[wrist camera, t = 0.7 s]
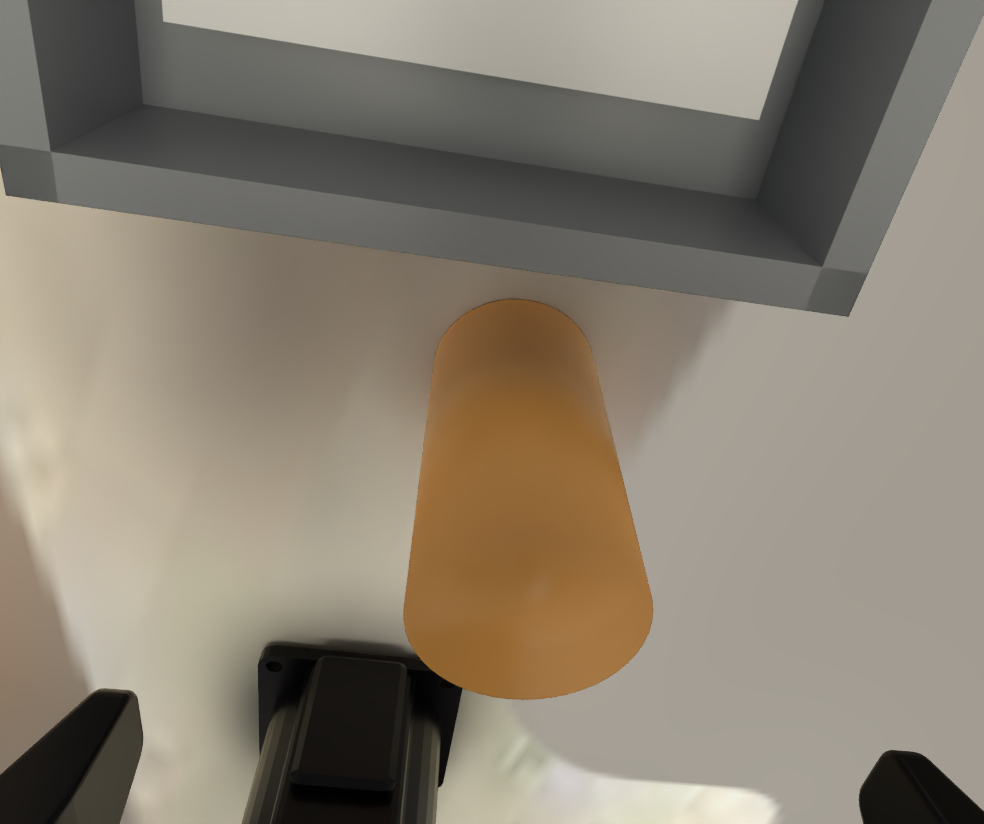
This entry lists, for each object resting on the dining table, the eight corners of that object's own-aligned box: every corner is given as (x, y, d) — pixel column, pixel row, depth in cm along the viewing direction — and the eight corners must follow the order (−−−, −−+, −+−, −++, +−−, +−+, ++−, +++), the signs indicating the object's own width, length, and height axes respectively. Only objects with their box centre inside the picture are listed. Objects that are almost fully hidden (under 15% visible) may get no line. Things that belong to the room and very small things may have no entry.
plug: (574, 447, 20) (619, 709, 13) (425, 429, 20) (393, 688, 13) (610, 311, 18) (683, 541, 11) (443, 288, 18) (415, 511, 11)
